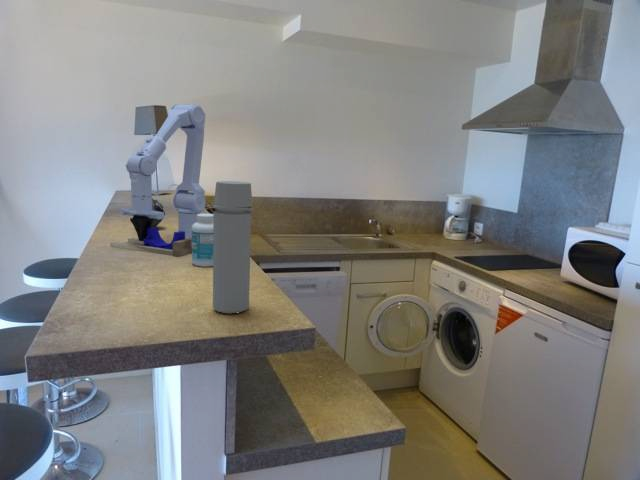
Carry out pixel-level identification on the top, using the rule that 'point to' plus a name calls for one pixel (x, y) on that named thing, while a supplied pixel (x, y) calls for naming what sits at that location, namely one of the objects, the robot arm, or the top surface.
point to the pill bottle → (202, 241)
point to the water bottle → (231, 246)
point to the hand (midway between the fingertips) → (142, 240)
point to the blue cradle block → (158, 242)
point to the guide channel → (178, 248)
